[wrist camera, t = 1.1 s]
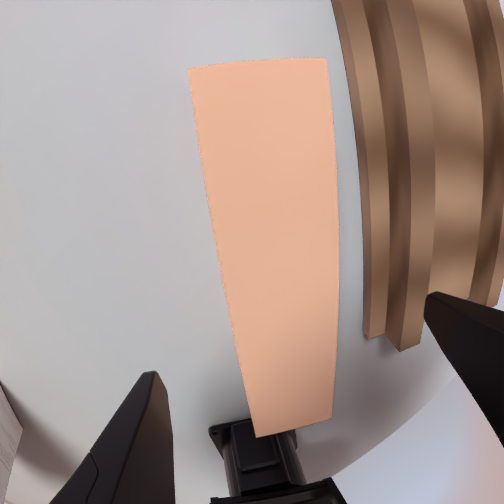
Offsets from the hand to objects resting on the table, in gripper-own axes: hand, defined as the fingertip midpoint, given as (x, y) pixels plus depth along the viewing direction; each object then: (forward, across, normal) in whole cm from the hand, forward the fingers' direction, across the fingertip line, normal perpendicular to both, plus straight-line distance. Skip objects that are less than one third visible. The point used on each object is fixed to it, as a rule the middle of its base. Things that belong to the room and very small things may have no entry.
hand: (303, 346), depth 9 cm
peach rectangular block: (+8, 0, 0) cm, 8 cm away
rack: (+8, -12, -3) cm, 15 cm away
